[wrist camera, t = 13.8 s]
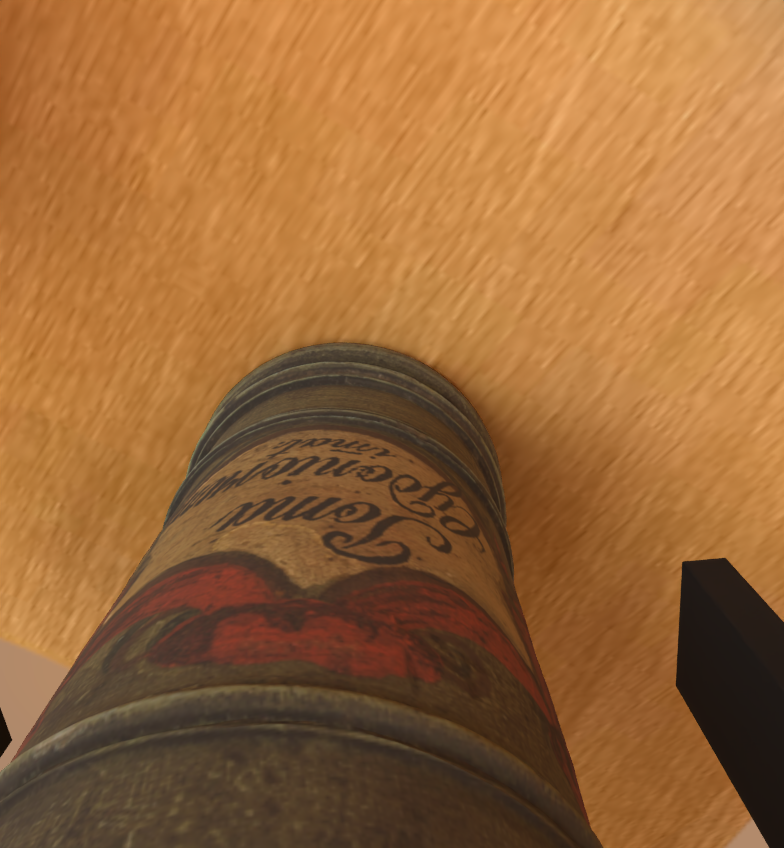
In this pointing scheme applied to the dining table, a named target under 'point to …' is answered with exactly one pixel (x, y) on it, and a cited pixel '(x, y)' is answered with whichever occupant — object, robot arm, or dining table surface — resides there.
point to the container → (313, 642)
